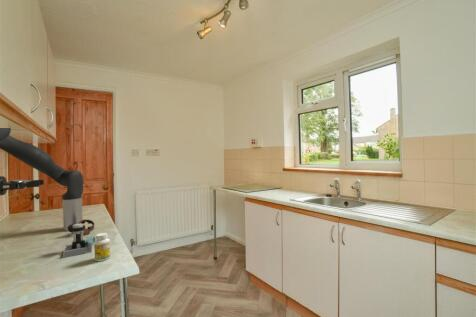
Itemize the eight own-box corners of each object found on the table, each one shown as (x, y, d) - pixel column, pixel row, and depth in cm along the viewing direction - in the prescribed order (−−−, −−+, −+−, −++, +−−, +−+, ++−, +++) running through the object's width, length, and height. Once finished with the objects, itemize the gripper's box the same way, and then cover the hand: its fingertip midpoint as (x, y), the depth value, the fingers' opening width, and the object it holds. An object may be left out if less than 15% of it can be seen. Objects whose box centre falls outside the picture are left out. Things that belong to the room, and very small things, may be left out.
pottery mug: (88, 230, 135) (94, 218, 134) (92, 241, 129) (97, 228, 128) (63, 230, 126) (69, 217, 125) (65, 242, 120) (71, 228, 119)
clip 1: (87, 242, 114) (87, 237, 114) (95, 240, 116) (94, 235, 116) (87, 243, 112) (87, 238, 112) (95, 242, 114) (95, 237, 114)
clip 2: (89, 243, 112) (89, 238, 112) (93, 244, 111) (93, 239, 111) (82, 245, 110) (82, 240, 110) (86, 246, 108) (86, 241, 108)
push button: (67, 251, 101) (66, 227, 100) (67, 247, 105) (66, 224, 105) (85, 247, 104) (84, 224, 104) (85, 244, 109) (84, 222, 108)
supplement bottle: (113, 257, 96) (112, 233, 95) (100, 262, 91) (99, 237, 91) (105, 254, 98) (104, 231, 98) (91, 260, 94) (90, 235, 93)
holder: (65, 250, 104) (64, 241, 104) (92, 245, 109) (91, 236, 109) (62, 257, 97) (62, 247, 97) (91, 252, 102) (91, 242, 102)
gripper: (-21, 178, 87) (37, 175, 95) (-6, 175, 99) (44, 173, 107) (-20, 199, 87) (38, 194, 95) (-5, 194, 99) (45, 190, 107)
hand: (41, 183), depth 101 cm, fingers open, 8 cm apart
